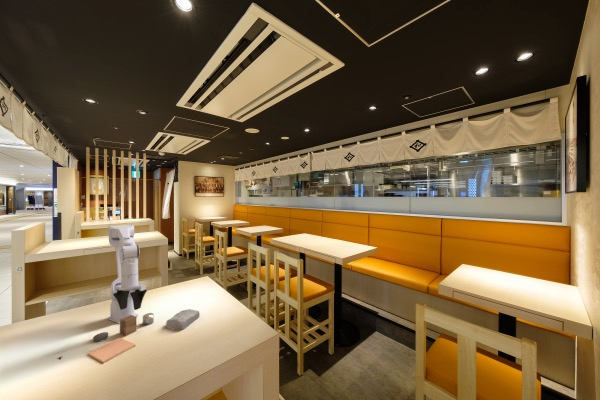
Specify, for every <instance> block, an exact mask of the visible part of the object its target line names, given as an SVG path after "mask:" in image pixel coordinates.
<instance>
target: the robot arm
mask: <svg viewBox="0 0 600 400" xmlns="http://www.w3.org/2000/svg"><path fill="white" fill-rule="evenodd" d="M107 232H108V233H107V234H108V235H107V236H108V243H109V245H110V246H113V247H114V249H115V259H116V269H117V270H116V272H117V278H116V279H114V280H113V281H112V282H111V284H110V291H109V293H110V300H111V302H110V313H109V314H110V317H108V318H107V319H108V320H109V321H112V322H114V323H117V324H119V325H120V319H122V318H124V317H126V316H129V315H133V316H136V318H137V317H138V316H139V314H138V313H135V311H137V310H139V309H141V308H142V307H141V306H142V302H143V299H144V297H145V294H146V293H147V291H148V290H147V287H146V284H141V283H139V258H140V254H141V252H140V249H141V248H140V245H139V244H136V242H135V239H134V236H135V225H133V224H125V225H109V226H108V229H107Z"/></svg>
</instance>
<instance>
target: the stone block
mask: <svg viewBox="0 0 600 400" xmlns="http://www.w3.org/2000/svg"><path fill="white" fill-rule="evenodd" d="M200 315H201V313H200V310H195V309H192V308H191V309H190V308H187V309H183V310H180V311H179V312H177V313H176V314H174V315H173V316H172V317H170V318H169V319H167V320H166V322H165V323H166V328H167V329H171V330H182V331H183V330H185V329H187V327H189V326H190V325H191V324H193V323H194V322H195V321H196V320H197V319H199V318H200Z"/></svg>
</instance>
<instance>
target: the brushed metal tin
mask: <svg viewBox="0 0 600 400" xmlns="http://www.w3.org/2000/svg"><path fill="white" fill-rule="evenodd" d="M154 317H155V315H154V313H152V312H149V313H145V314H143V315H142V326H149V325H153V324H154V319H155V318H154Z"/></svg>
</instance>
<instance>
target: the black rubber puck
mask: <svg viewBox="0 0 600 400" xmlns="http://www.w3.org/2000/svg"><path fill="white" fill-rule="evenodd" d="M92 338H93V339H92V340H93V341H92V342H93V343H101V342H103V341H106V340H107V339H108V338H109V332H108V331H107V332H106V331H103V332H100V333H97V334H95V335H94V336H93V337H92Z"/></svg>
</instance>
